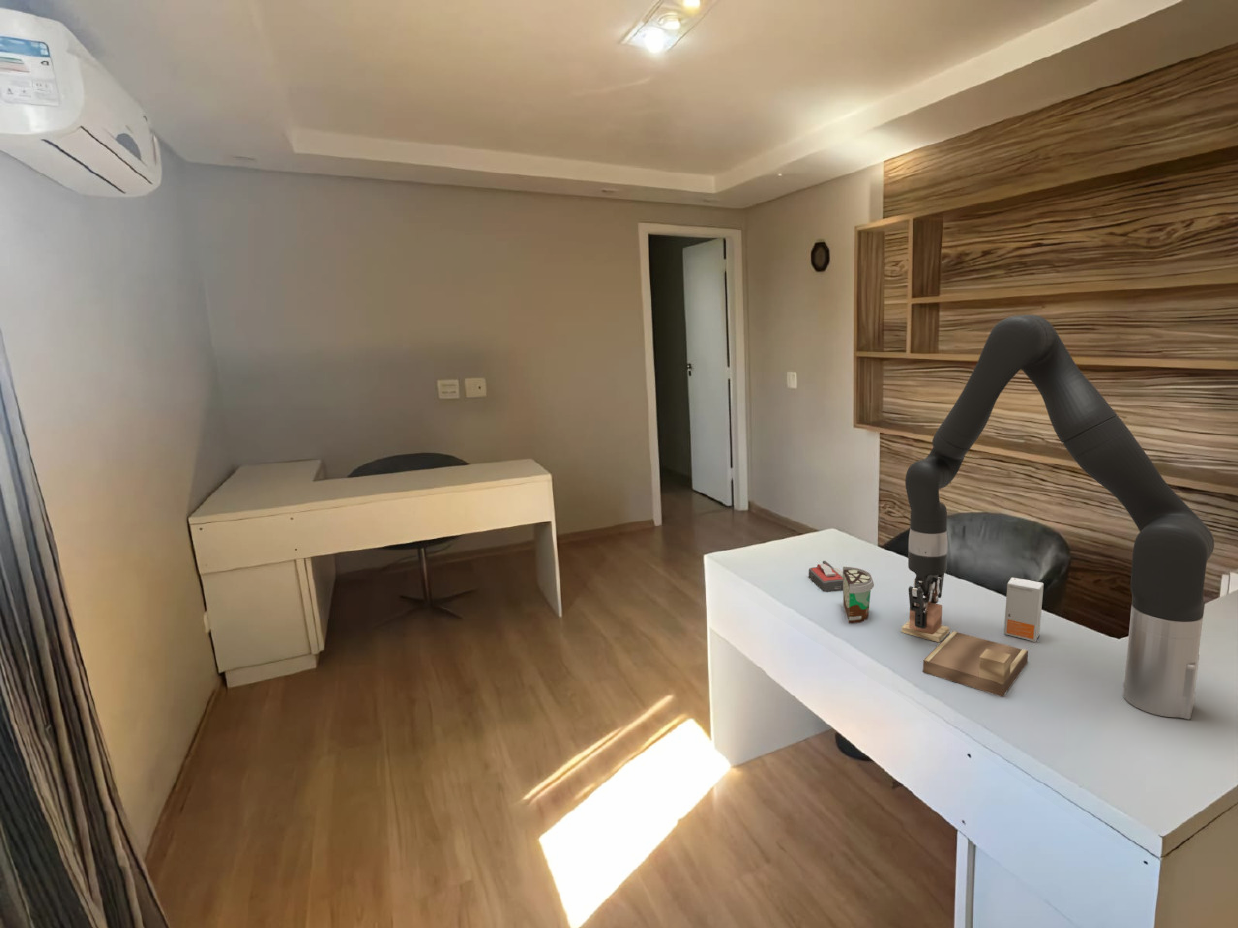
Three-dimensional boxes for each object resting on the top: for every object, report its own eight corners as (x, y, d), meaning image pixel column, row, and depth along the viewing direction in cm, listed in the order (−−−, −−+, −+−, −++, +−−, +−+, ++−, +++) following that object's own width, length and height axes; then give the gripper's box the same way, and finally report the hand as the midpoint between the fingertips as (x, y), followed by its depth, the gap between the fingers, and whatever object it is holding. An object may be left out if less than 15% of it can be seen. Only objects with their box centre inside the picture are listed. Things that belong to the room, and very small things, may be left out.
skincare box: (1003, 634, 139) (1006, 582, 136) (1008, 627, 142) (1011, 576, 140) (1036, 642, 135) (1039, 588, 132) (1040, 635, 138) (1044, 582, 135)
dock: (1027, 662, 127) (1028, 650, 127) (1002, 696, 116) (1003, 683, 116) (952, 641, 137) (952, 630, 137) (922, 671, 126) (923, 659, 126)
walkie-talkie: (858, 592, 166) (827, 565, 186) (858, 576, 166) (827, 551, 185) (825, 595, 166) (797, 568, 185) (825, 579, 165) (797, 553, 185)
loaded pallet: (949, 632, 141) (950, 605, 140) (939, 642, 137) (940, 615, 136) (912, 622, 147) (912, 597, 146) (901, 632, 143) (901, 605, 142)
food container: (878, 626, 146) (878, 585, 144) (849, 625, 148) (849, 584, 146) (868, 604, 158) (869, 565, 156) (842, 603, 159) (842, 565, 157)
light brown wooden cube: (1010, 674, 119) (1010, 654, 118) (1003, 683, 116) (1003, 662, 115) (986, 668, 122) (986, 648, 121) (979, 676, 119) (979, 656, 118)
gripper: (933, 562, 131) (930, 639, 134) (958, 543, 141) (955, 616, 144) (896, 555, 136) (894, 629, 139) (922, 537, 146) (920, 607, 149)
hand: (925, 622), depth 142 cm, fingers closed on loaded pallet, 5 cm apart
